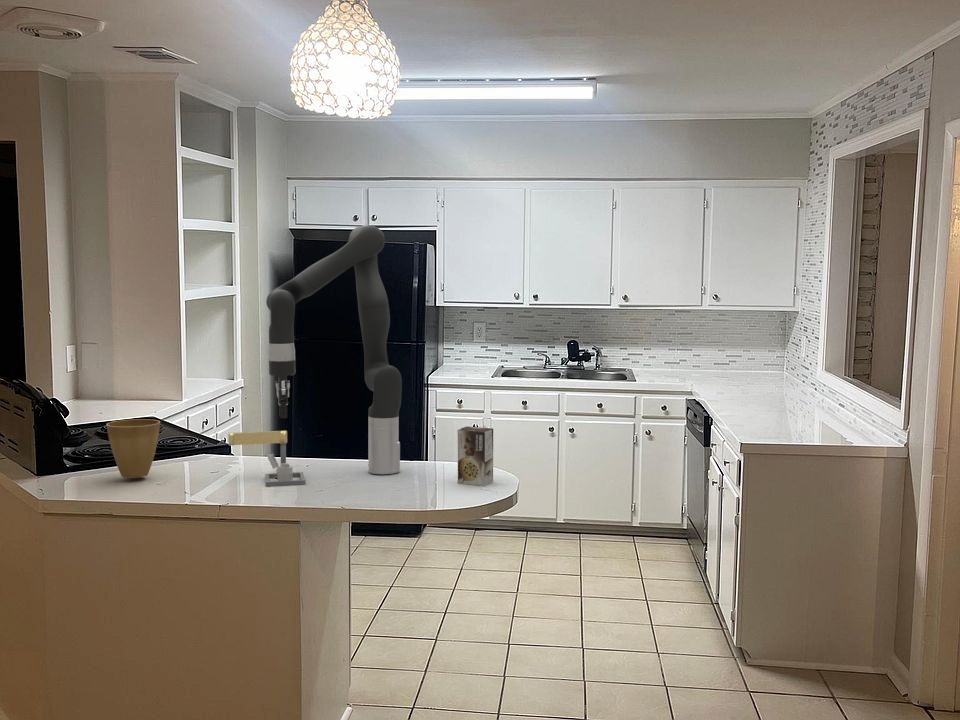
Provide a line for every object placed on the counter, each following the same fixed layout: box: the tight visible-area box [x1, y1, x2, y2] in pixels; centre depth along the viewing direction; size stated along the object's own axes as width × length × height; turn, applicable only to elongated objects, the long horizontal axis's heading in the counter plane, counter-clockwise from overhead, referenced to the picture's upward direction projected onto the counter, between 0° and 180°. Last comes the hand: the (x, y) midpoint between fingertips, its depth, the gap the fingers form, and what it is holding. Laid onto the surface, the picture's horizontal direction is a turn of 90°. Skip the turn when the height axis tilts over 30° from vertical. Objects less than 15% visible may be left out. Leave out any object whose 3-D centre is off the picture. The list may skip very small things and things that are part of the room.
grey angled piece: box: [266, 453, 294, 481], centre depth 255 cm, size 7×2×8 cm, turn 85°
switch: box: [264, 443, 306, 487], centre depth 258 cm, size 11×18×9 cm, turn 15°
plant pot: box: [105, 418, 161, 479], centre depth 260 cm, size 15×15×16 cm
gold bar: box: [227, 430, 288, 446], centre depth 262 cm, size 2×17×4 cm, turn 106°
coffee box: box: [457, 426, 494, 487], centre depth 255 cm, size 9×6×16 cm
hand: (283, 417), depth 254 cm, fingers closed
